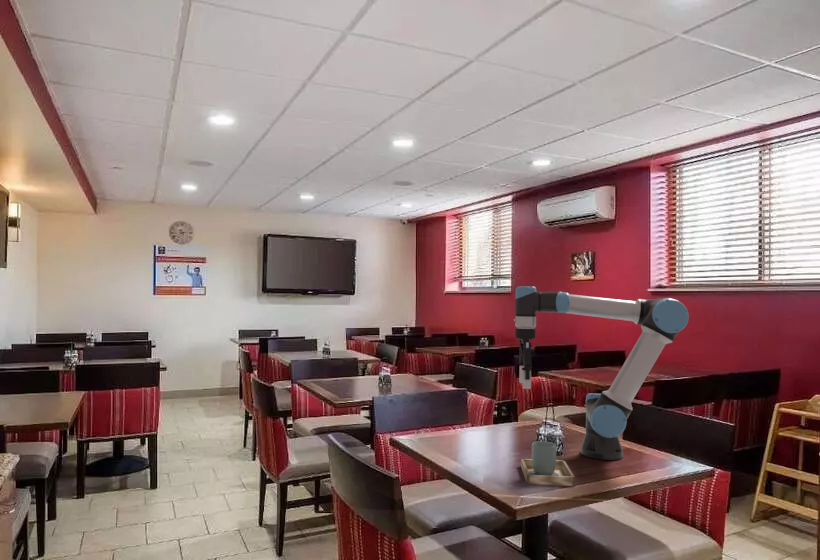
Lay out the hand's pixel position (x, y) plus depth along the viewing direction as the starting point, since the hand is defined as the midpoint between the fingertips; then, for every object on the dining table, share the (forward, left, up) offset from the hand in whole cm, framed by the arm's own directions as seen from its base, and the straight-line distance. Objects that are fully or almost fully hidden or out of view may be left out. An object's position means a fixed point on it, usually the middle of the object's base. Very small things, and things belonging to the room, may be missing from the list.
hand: (524, 385), depth 211 cm
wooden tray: (-5, +21, -27) cm, 34 cm away
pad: (-4, +21, -26) cm, 34 cm away
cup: (-4, +21, -26) cm, 34 cm away
